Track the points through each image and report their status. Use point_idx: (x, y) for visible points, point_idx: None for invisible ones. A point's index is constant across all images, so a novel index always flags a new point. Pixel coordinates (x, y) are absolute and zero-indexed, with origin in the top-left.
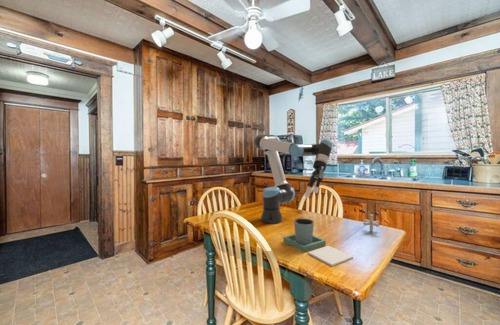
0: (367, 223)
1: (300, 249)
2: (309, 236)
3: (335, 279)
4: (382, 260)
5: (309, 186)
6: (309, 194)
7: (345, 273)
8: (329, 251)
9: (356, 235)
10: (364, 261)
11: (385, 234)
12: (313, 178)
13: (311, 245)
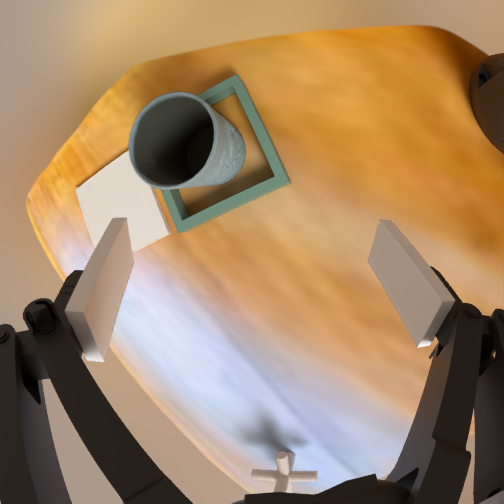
0: (276, 462)
1: None
2: (167, 163)
3: (47, 176)
4: None
5: (448, 325)
6: (381, 276)
7: (57, 206)
8: (130, 215)
9: (261, 393)
10: None
11: (254, 466)
12: (418, 444)
13: None
